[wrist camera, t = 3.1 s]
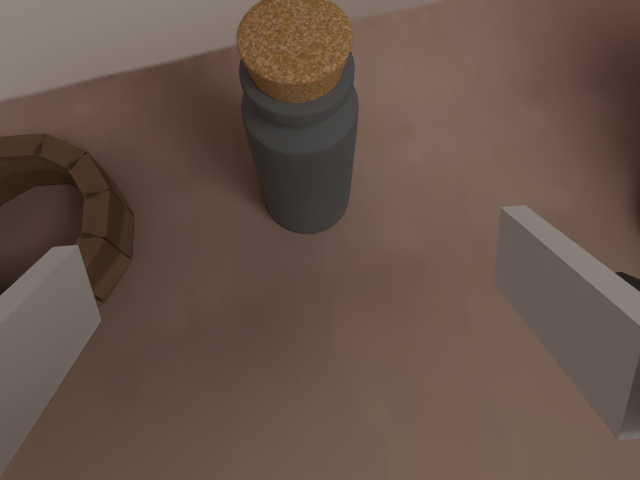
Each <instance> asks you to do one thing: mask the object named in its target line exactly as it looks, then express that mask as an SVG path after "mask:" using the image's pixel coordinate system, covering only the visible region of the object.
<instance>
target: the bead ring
mask: <svg viewBox="0 0 640 480" xmlns="http://www.w3.org/2000/svg"><path fill="white" fill-rule="evenodd" d="M56 184H71V185H73V186H75V187H77V188H79V189H80V190H81V192H82V194H83V196H84V207H83V218H82V228H81V235H80V236H79V238H78V239H77V241H76V242H75V243H74V245H78V246H79V250H80V253H81V256H82V259H83V263H84V266H85V269H86V272H87V275H88V279H89V282H90V285H91V288H92V291H93V295H94V298H95V301H96V304H97V307H98V306H100V305H101V304H103V302H102V300H101V299H103V300H105V301H106V300H107V298H108V296H109V295H110V293H111V292H112V290H113V289H114V287H115V285H116V284H117V282H118V281H119V279H120V278H121V276H122V274H123V273H124V271H125V270H126V268H127V267H128V265H129V263H130V262H131V260H130V259H128V258H132V250H133V232H134V216H133V212H132V210H131V209H130V207H129V206H128V204H127V202H126V201H125V199H124V197H123V196H122V194H121V192H120V191H119V189H118V187H117V186H116V184H115V183H114V181H113V180H112V179H111V178H110V177H109V176H108V175H107V174H106V173H105V171H104V170H103V169H102V168H101V167H100V166H99V165H98V164H97V163H96V161H95V160H94V159H93V158H92V157H91V156H90V155H89V154H88V153H87V152H86V151H84V150H82V149H80V148H77V147H75V146H73V145H71V144H68V143H66V142H64V141H62V140H59V139H57V138H55V137H52V136H50V135H48V134H47V135H45V134H33V135H20V136H7V137H0V206H1V205H2V204H3V203H5V202H7V201H9V200H10V199H12V198H14V197H16V196H18V195H19V194H21V193H23V192H25V191H27V190H28V189H30V188H32V187H34V186H44V185H56ZM0 296H1V295H0Z"/></svg>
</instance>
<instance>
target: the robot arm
mask: <svg viewBox="0 0 640 480" xmlns="http://www.w3.org/2000/svg"><path fill="white" fill-rule="evenodd" d="M494 285H495V286H496V287H497V289H498V290H499V291H500V292H501V294H502V295H503V296H504V297H505V299H506V300H507V301H508V302H509V304H510V305H511V306H512V307H513V309H514V310H515V311H516V312H517V314H518V315H519V316H520V317H521V319H522V320H523V321H524V323H525V324H526V325H527V326H528V328H529V329H530V330H531V331H532V333H533V334H534V335H535V336H536V338H537V339H538V340H539V341H540V343H541V344H542V345H543V346H544V348H545V349H546V350H547V351H548V353H549V354H550V355H551V356H552V358H553V359H554V360H555V361H556V363H557V364H558V365H559V366H560V368H561V369H562V370H563V371H564V373H565V374H566V375H567V376H568V378H569V379H570V380H571V382H572V383H573V384H574V385H575V387H576V388H577V389H578V390H579V392H580V393H581V394H582V395H583V397H584V398H585V399H586V400H587V402H588V403H589V404H590V405H591V407H592V408H593V409H594V410H595V412H596V413H597V414H598V415H599V417H600V418H601V419H602V420H603V422H604V423H605V424H606V425H607V427H608V428H609V429H610V430H611V432H612V433H613V434H614V435H615V437H616V438H617V439H618V440H623V439H633V438H640V279H637V278H635V277H632V276H630V275H628V274H625V273H623V272H616V273H614V272H613V271H612V270H610V269H609V268H608V267H606V266H605V265H604V264H602V263H601V262H600V261H598V260H597V259H596V258H594V257H593V256H592V255H590V254H589V253H588V252H586V251H585V250H584V249H582V248H581V247H580V246H578V245H577V244H576V243H574V242H573V241H572V240H570V239H569V238H568V237H566V236H565V235H564V234H562V233H561V232H560V231H558V230H557V229H556V228H555V227H553V226H552V225H551V224H549V223H548V222H547V221H545V220H544V219H543V218H541V217H540V216H539V215H537V214H536V213H535V212H533V211H532V210H531V209H529V208H528V207H527V206H525V205H521V206H509V207H501V210H500V221H499V232H498V243H497V254H496V265H495V276H494ZM100 322H101V317H100V314H99V311H98V308H97V304H96V301H95V298H94V295H93V291H92V288H91V285H90V282H89V279H88V275H87V272H86V269H85V266H84V263H83V259H82V256H81V253H80V250H79V246H78V245H70V246H59V247H52V248H51V249H50V250H49V251H48V252H47V253H46V254H45V255H44V256H43V257H42V258H40V259H39V260H38V261H37V262H36V263H35V264H34V265H33V266H32V267H31V268H30V269H29V270H28V271H26V272H25V273H24V274H23V275H22V276H21V277H20V278H19V279H18V280H17V281H16V282H15V283H13V284H12V285H11V286H10V287H9V288H8V289H7V290H6V291H5V292H4V293H3V294H2V295H1V296H0V478H1V476H2V475H3V473H4V471H5V470H6V468H7V467H8V465H9V464H10V462H11V461H12V459H13V457H14V456H15V454H16V453H17V451H18V450H19V448H20V447H21V445H22V443H23V442H24V440H25V439H26V437H27V436H28V434H29V433H30V431H31V429H32V428H33V426H34V425H35V423H36V422H37V420H38V419H39V417H40V415H41V414H42V412H43V411H44V409H45V408H46V406H47V404H48V403H49V401H50V400H51V398H52V397H53V395H54V394H55V392H56V390H57V389H58V387H59V386H60V384H61V383H62V381H63V380H64V378H65V376H66V375H67V373H68V372H69V370H70V369H71V367H72V366H73V364H74V362H75V361H76V359H77V358H78V356H79V355H80V353H81V351H82V350H83V348H84V347H85V345H86V344H87V342H88V341H89V339H90V337H91V336H92V334H93V333H94V331H95V330H96V328H97V327H98V325H99V323H100Z"/></svg>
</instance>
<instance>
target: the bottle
mask: <svg viewBox="0 0 640 480" xmlns="http://www.w3.org/2000/svg"><path fill="white" fill-rule="evenodd" d="M352 39H353V35H352V28H351V24H350V22H349V20H348V18H347V17H346V15H345V14H344V12H343V11H342V10H341V9H340V8H339V7H338V6H337V5H336V4H334V3H333V2H331V1H329V0H262V1H260V2H259V3H257V4H256V5H254V6H253V7H252V8H251V9H250V10H249V11H248V12H247V13H246V14H245V16H244V17H243V19H242V21H241V22H240V25H239V28H238V31H237V48H238V52H239V54H240V57H241V61H240V67H239V74H240V81H241V85H242V89H243V92H244V94H243V97H242V105H241V112H242V117H243V122H244V126H245V130H246V134H247V137H248V141H249V145H250V149H251V152H252V156H253V160H254V163H255V167H256V170H257V174H258V177H259V181H260V184H261V188H262V191H263V195H264V198H265V202H266V205H267V207H268V210H269V212H270V214H271V215H272V217H273V218H274V219H275V220H276V222H278V223H279V224H280V225H281V226H283V227H284V228H286V229H288V230H290V231H293V232H296V233H302V234H311V233H317V232H321V231H323V230H326V229H328V228H329V227H331V226H333V225H334V224H335V223H336V222H337V221H338V220H339V219H340V218H341V217H342V215H343V214H344V212H345V210H346V207H347V204H348V200H349V194H350V186H351V177H352V169H353V159H354V150H355V141H356V131H357V122H358V97H357V93H356V90H355V87H354V85H353V82H354V69H355V68H354V60H353V56H352V53H351V51H350V50H351V47H352Z"/></svg>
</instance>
